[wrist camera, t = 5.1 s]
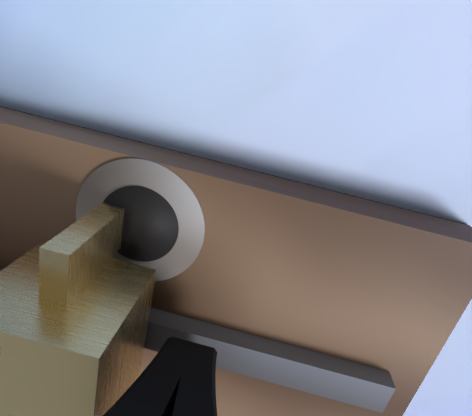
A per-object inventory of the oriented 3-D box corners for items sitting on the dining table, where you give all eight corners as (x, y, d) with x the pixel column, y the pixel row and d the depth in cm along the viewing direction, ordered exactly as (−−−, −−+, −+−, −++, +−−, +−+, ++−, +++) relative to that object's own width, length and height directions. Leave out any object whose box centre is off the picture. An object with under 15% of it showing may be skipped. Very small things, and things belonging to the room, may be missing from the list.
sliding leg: (141, 390, 11) (83, 519, 8) (53, 366, 11) (-40, 483, 8) (169, 220, 9) (104, 304, 6) (57, 191, 9) (-70, 257, 6)
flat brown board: (349, 449, 14) (389, 666, 9) (-170, 305, 14) (-414, 428, 9) (468, 225, 10) (663, 379, 5) (-242, 45, 11) (-714, 17, 6)
